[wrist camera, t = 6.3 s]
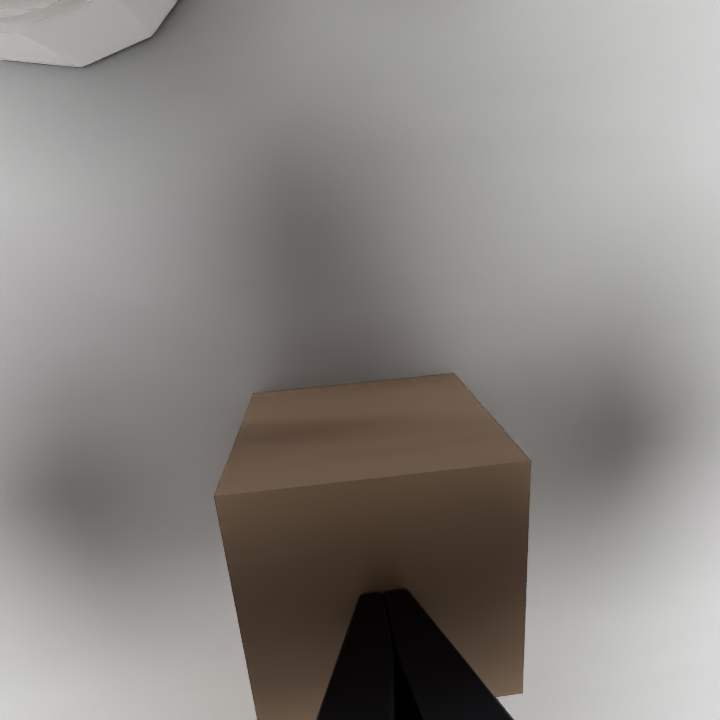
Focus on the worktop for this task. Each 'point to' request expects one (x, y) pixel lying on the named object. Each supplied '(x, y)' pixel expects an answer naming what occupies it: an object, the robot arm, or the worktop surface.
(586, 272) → the worktop surface
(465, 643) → the plain block
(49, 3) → the white cup
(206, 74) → the worktop surface
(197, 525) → the worktop surface
